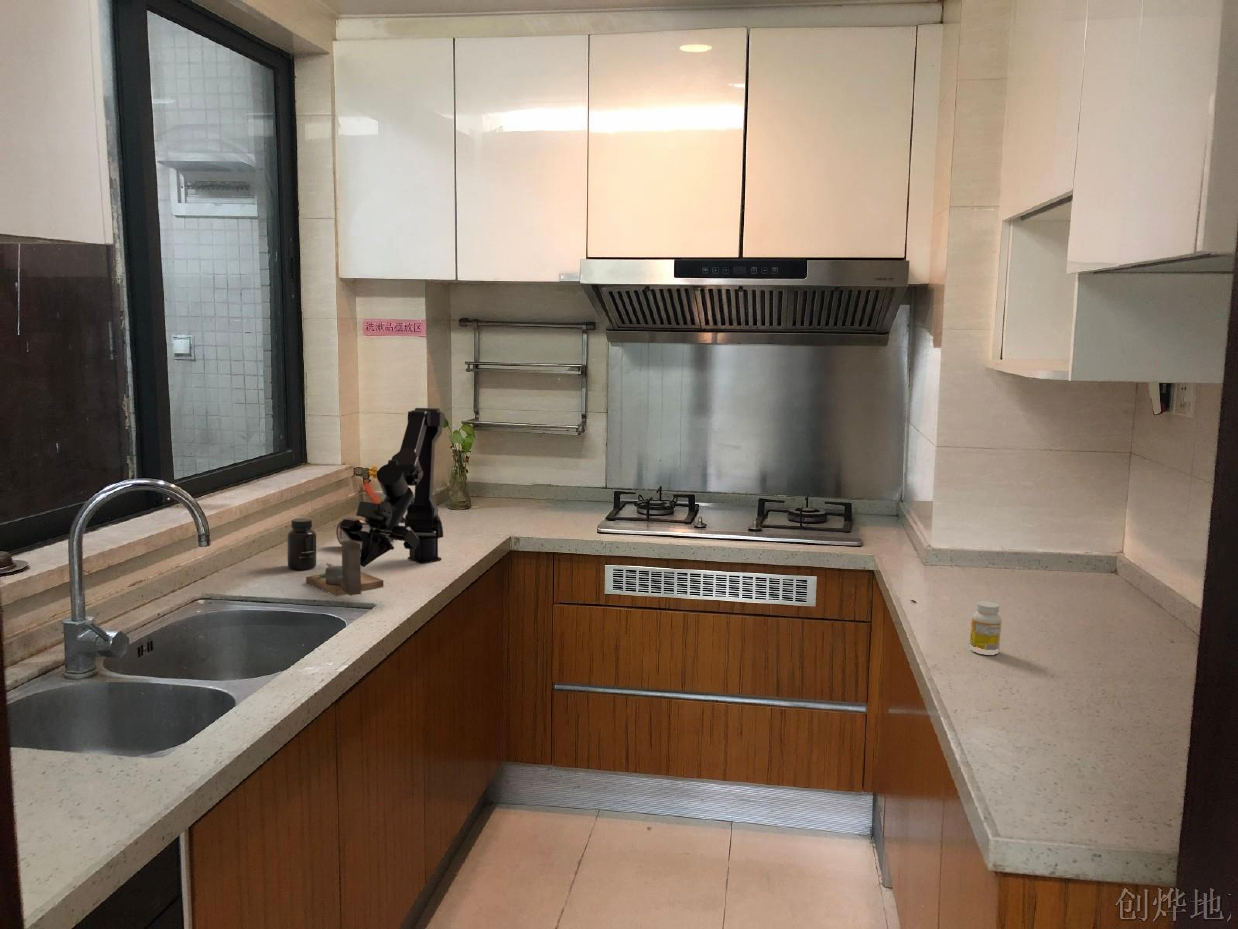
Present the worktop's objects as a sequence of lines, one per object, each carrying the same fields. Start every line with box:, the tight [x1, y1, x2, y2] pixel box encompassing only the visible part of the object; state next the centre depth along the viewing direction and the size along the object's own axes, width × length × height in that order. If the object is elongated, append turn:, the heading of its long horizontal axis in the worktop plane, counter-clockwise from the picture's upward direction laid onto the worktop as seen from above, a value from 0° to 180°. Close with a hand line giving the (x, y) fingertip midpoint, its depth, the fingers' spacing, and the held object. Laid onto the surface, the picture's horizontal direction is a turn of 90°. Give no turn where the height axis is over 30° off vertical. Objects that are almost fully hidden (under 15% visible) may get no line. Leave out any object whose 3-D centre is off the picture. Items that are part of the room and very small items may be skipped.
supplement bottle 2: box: [969, 600, 1003, 650], centre depth 181 cm, size 5×5×10 cm
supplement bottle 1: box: [286, 517, 317, 571], centre depth 231 cm, size 7×7×12 cm
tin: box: [336, 517, 369, 552], centre depth 250 cm, size 15×3×8 cm, turn 65°
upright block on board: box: [324, 540, 362, 596], centre depth 210 cm, size 20×5×11 cm, turn 35°
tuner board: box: [305, 571, 384, 597], centre depth 217 cm, size 12×14×2 cm
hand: (361, 565), depth 206 cm, fingers closed
